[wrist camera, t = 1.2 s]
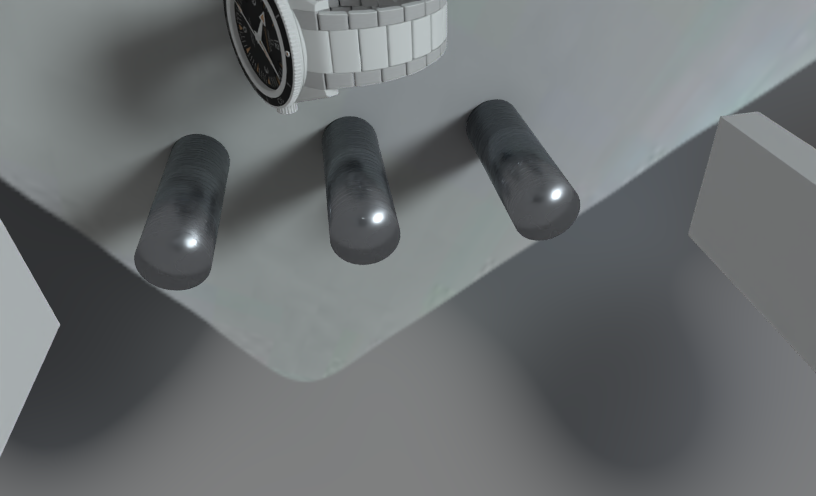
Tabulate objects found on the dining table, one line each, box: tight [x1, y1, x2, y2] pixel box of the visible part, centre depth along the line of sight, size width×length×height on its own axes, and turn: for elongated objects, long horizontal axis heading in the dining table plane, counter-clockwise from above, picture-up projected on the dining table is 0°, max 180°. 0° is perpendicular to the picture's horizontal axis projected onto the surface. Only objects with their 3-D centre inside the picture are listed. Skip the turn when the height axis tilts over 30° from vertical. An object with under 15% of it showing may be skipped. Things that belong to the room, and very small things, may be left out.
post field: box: [134, 100, 580, 290], centre depth 24 cm, size 20×19×9 cm
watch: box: [223, 0, 447, 114], centre depth 23 cm, size 6×8×11 cm
